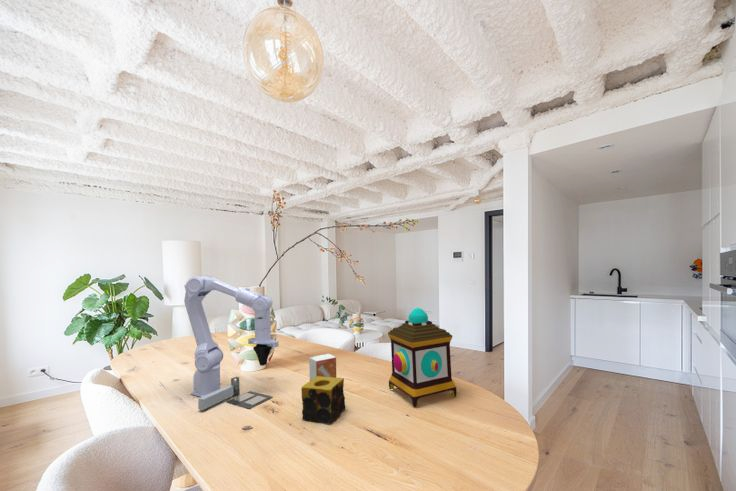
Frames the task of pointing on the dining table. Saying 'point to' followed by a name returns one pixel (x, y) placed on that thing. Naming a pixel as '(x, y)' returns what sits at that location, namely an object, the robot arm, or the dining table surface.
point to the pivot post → (235, 386)
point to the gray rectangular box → (215, 397)
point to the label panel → (249, 399)
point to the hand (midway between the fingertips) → (263, 364)
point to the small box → (322, 366)
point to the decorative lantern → (421, 358)
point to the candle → (323, 399)
